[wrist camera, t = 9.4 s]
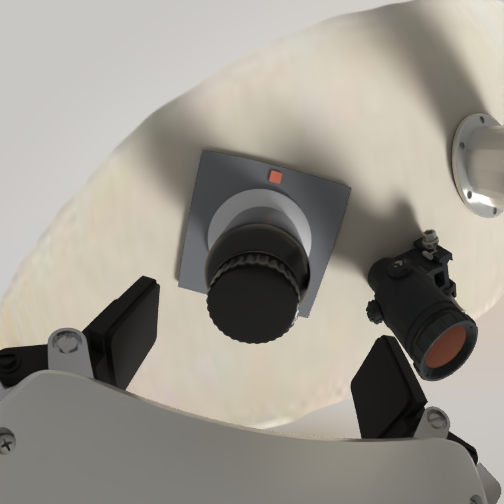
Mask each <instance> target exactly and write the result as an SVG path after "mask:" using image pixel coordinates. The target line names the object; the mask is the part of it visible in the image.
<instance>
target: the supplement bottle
mask: <svg viewBox="0 0 504 504" xmlns="http://www.w3.org/2000/svg"><path fill="white" fill-rule="evenodd" d="M204 283H205V287H206V290H207V294H208V297H207V299H206V301H207V304H208V306H207V309H208V311H209V315H210V318H211V319H212V320H213V323H214V324H215V325H216V326H217V327H218V329H219V330H220V331H222V332H223V333H224V334H225V335H226V336H229V337H231V338H232V339H234V340H238V341H239V342H246V343H248V344H251V343H255V344H259V343H267V342H269V341H274V340H275V339H276V338H279V337H282V335H283V334H284V333H286V332H288V331H289V328H291V327H292V326H293V325H294V321H295V320H296V319H297V317H298V315H297V314H298V313H299V311H300V307H299V306H300V305H301V304H302V303H303V301H304V299H305V298H306V296H307V293H308V291H309V287H310V283H311V268H310V263H309V259H308V256H307V253H306V251H305V248H304V245H303V243H302V240H301V238H300V235H299V233H298V230H297V228H296V226H295V225H294V223H293V222H292V220H291V219H290V218H289V217H288V216H287V215H285V214H284V213H282V212H281V211H279V210H277V209H274V208H271V207H265V206H258V207H252V208H249V209H246V210H244V211H242V212H241V213H239V214H238V215H236V216H235V217H234V218H233V219H232V220H231V222H230V223H229V224H228V225H227V227H226V228H225V229H224V231H223V232H222V233H221V235H220V236H219V237H218V239H217V240H216V241H215V243H214V244H213V246H212V247H211V249H210V251H209V253H208V255H207V257H206V260H205V265H204Z"/></svg>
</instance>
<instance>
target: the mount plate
mask: <svg viewBox="0 0 504 504" xmlns="http://www.w3.org/2000/svg"><path fill="white" fill-rule="evenodd" d="M350 191H351V188H350V187H347V186H344V185H341V184H338V183H335V182H332V181H329V180H325V179H322V178H319V177H315V176H312V175H308V174H305V173H301V172H298V171H294V170H290V169H287V168H283V167H279V166H275V165H271V164H267V163H263V162H259V161H255V160H250V159H246V158H241V157H237V156H232V155H228V154H223V153H218V152H213V151H208V150H203V151H202V155H201V159H200V164H199V169H198V173H197V178H196V183H195V188H194V193H193V198H192V203H191V208H190V214H189V219H188V225H187V231H186V237H185V243H184V249H183V255H182V262H181V269H180V276H179V283H178V287H181V288H185V289H189V290H192V291H196V292H200V293H203V294H207V290H206V287H205V283H204V265H205V260H206V257H207V255H208V253H209V251H210V249H211V247H212V246H213V244H214V243H215V241H216V240H217V239H218V237H219V236H220V235H221V233H222V232H223V231H224V229H225V228H226V227H227V225H228V224H229V223H230V222H231V220H232V219H233V218H234V217H235V216H236V215H238V214H239V213H241V212H242V211H244V210H246V209H249V208H252V207H258V206H265V207H271V208H274V209H277V210H279V211H281V212H282V213H284V214H285V215H287V216H288V217H289V218H290V219H291V220H292V222H293V223H294V225H295V226H296V228H297V230H298V233H299V235H300V238H301V240H302V243H303V245H304V248H305V251H306V253H307V256H308V259H309V263H310V268H311V283H310V287H309V291H308V293H307V296H306V298H305V299H304V301H303V303H302V304H301V305H300V306H299V307H300V311H299V313H298V314H297V315H298V316H301V317H306V318H308V316H309V313H310V311H311V308H312V305H313V303H314V300H315V297H316V295H317V292H318V289H319V287H320V284H321V281H322V278H323V276H324V273H325V270H326V267H327V264H328V261H329V258H330V255H331V252H332V249H333V246H334V243H335V240H336V237H337V234H338V231H339V228H340V225H341V221H342V218H343V215H344V212H345V208H346V205H347V201H348V198H349V194H350ZM207 295H208V294H207Z"/></svg>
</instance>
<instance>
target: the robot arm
mask: <svg viewBox="0 0 504 504" xmlns="http://www.w3.org/2000/svg"><path fill="white" fill-rule="evenodd" d="M452 168H453V174H454V179H455V183H456V187H457V189H458V192H459V194H460V197H461V198H462V200H463V202H464V203H465V205H466V206H467V207H468V208H469V209H470V210H471V211H472V212H473V213H475V214H477V215H479V216H481V217H485V218H494V217H496V216H498V215H500V214H501V213H502V212H503V211H504V125H500V124H499V123H498V122H497V121H496V120H495V119H494V118H492V117H491V116H489V115H486V114H481V113H478V114H472V115H469V116H467V117H466V118H465V119H464V120H463V121H461V123H460V125H459V126H458V128H457V130H456V133H455V136H454V140H453V145H452ZM159 292H160V285H159V284H157V282H156V280H155V279H152V278H149V277H146V276H142V277H140V278H139V279H138V280H137V281H136V282H135V283H134V284H133V285H132V286H131V287H130V288H129V289H128V290H127V291H126V292H124V293H123V294H122V295H121V296H120V297H119V298H118V299H115V300H114V301H113V302H112V303H111V304H109V305H108V306H107V307H106V308H105V309H104V310H103V311H102V312H101V313H100V314H99V315H98V316H97V317H96V318H95V319H94V320H93V321H92V322H91V323H90V324H89V325H88V326H87V327H86V328H85V329H84V330H83V331H82V332H80V331H79V330H77V329H73V328H62V329H59V330H56V331H55V332H53V333H52V334H51V335H50V337H49V339H48V344H44V345H35V346H24V347H12V348H5V349H2V350H0V504H496V503H497V501H498V499H499V497H500V495H501V487H500V484H499V483H498V481H496V479H495V478H494V477H493V476H492V475H491V474H490V473H489V472H488V471H487V469H486V468H485V467H484V466H483V465H482V464H481V463H478V464H477V462H478V456H477V452H476V449H475V448H474V447H472V446H471V445H469V444H468V443H466V442H465V441H463V440H462V439H460V438H459V437H457V436H456V435H454V434H452V433H451V432H449V428H450V421H449V418H448V416H447V415H446V413H445V412H444V411H442V410H441V409H439V408H437V407H428V408H426V409H425V408H424V406H425V404H426V403H427V402H428V401H427V399H426V397H425V395H424V393H423V391H422V389H421V387H420V384H419V382H418V380H417V379H416V376H415V374H414V372H413V370H412V368H411V366H410V364H409V362H408V360H407V358H406V356H405V354H404V353H403V351H402V349H401V347H400V345H399V343H398V341H397V339H396V338H395V337H393V336H387V335H382V336H381V337H380V338H377V340H376V341H375V343H374V345H373V347H372V348H371V350H370V352H369V354H368V355H367V357H366V359H365V360H364V362H363V364H362V365H361V367H360V369H359V370H358V372H357V373H356V375H355V377H354V378H353V380H352V382H351V392H352V396H353V400H354V404H355V409H356V414H357V419H358V423H359V428H360V433H361V438H362V439H348V438H347V439H346V438H327V437H315V436H303V435H295V434H287V433H280V432H273V431H267V430H261V429H256V428H250V427H245V426H240V425H236V424H231V423H227V422H222V421H218V420H214V419H210V418H207V417H203V416H199V415H196V414H192V413H189V412H185V411H182V410H179V409H176V408H173V407H170V406H167V405H164V404H161V403H158V402H155V401H152V400H149V399H146V398H144V397H141V396H138V395H136V394H133V393H131V392H128V391H126V388H127V386H128V385H129V383H130V381H131V380H132V378H133V377H134V375H135V373H136V372H137V370H138V368H139V367H140V365H141V364H142V362H143V360H144V359H145V357H146V356H147V354H148V352H149V351H150V349H151V348H152V346H153V345H154V343H155V341H156V337H157V321H158V305H159Z"/></svg>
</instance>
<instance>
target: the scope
mask: <svg viewBox="0 0 504 504" xmlns="http://www.w3.org/2000/svg"><path fill="white" fill-rule="evenodd" d="M422 236H423V237H422V238H420V239H418V240H416V241H414V246H415V247H417V249H414V250H410V251H408V252H406V253H404V254H402V255H399V256H397V257H395V258H383V259H380V260H378V261H377V262H376V263H375V264H374V265H373V266H372V267H371V269H370V271H369V275H368V282H369V285H370V287H371V288H372V290H373V291H374V292H375V295H374V297H375V300H372V301H371V302H370V301H369V302H368V307H367V308H366V311H367V316H368V318H369V319H370V321H371V322H374V323H375V324H378V323H382V321H384V323H385V324H386V326H387V327H388V328H390V329H391V330H392V332H393V333H394V335H395V336H396V337H397V339H398V340H399V342H400V343H401V345H402V346H403V347H404V349H405V350H406V352H407V353H408V355H409V356H410V358H411V359H412V360H413V361H414V363H413V365H414V368H415V369H416V371H417V373H418V374H419V376H420V377H421V378H422V379H423V380H427V381H438V380H441V379H444V378H446V377H447V376H449V375H451V374H453V373H454V372H455V371H456V370H458V369H459V368H460V367H461V366H462V365H463V364H464V363H465V361H466V360H467V359H468V357H469V356H470V354H471V353H472V351H473V349H474V347H475V344H476V341H477V335H478V328H477V326H476V323H475V321H474V320H473V319H472V318H471V317H469V316H468V315H466V314H465V310H463V309H462V308H461V307H460V306H459V305H458V303H457V302H456V301H455V299H454V298H455V297H456V283H455V282H453V281H452V280H451V279H449V274H448V266H447V263H448V261H449V260H452V261H453V259H452V253H451V252H449V251H447V250H446V249H444V248H442V247H441V246H439V245H438V242H439V240H438V237H437V236H436V232H435V231H434V230H426V231H425V232H423V234H422Z"/></svg>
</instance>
